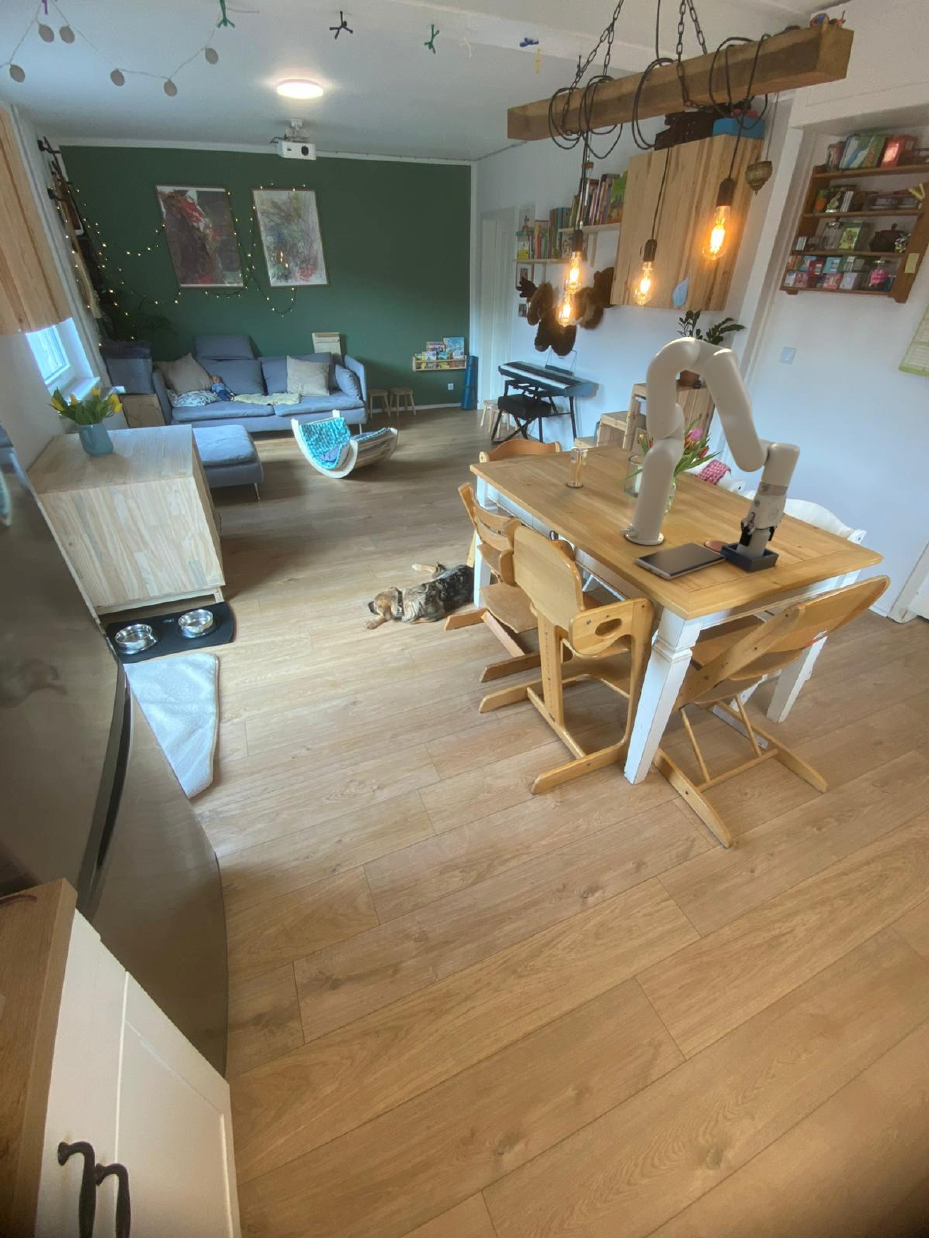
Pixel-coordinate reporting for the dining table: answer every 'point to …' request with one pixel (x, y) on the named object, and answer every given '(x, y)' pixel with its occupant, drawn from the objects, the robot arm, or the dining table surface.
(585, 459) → the beer glass
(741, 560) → the dark square tray
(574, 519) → the dining table surface
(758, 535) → the can
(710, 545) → the coaster
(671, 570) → the smartphone
